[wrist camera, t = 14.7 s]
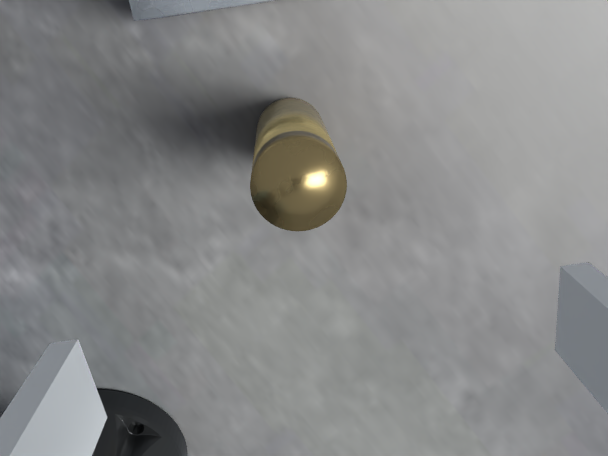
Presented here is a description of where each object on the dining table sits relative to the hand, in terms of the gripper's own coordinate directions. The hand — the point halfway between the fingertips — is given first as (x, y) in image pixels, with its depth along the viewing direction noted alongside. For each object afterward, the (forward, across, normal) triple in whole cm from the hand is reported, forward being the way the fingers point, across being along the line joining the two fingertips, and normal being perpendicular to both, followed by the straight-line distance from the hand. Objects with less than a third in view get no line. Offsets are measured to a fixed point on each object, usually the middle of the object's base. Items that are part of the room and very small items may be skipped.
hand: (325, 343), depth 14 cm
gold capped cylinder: (+27, 0, 0) cm, 27 cm away
